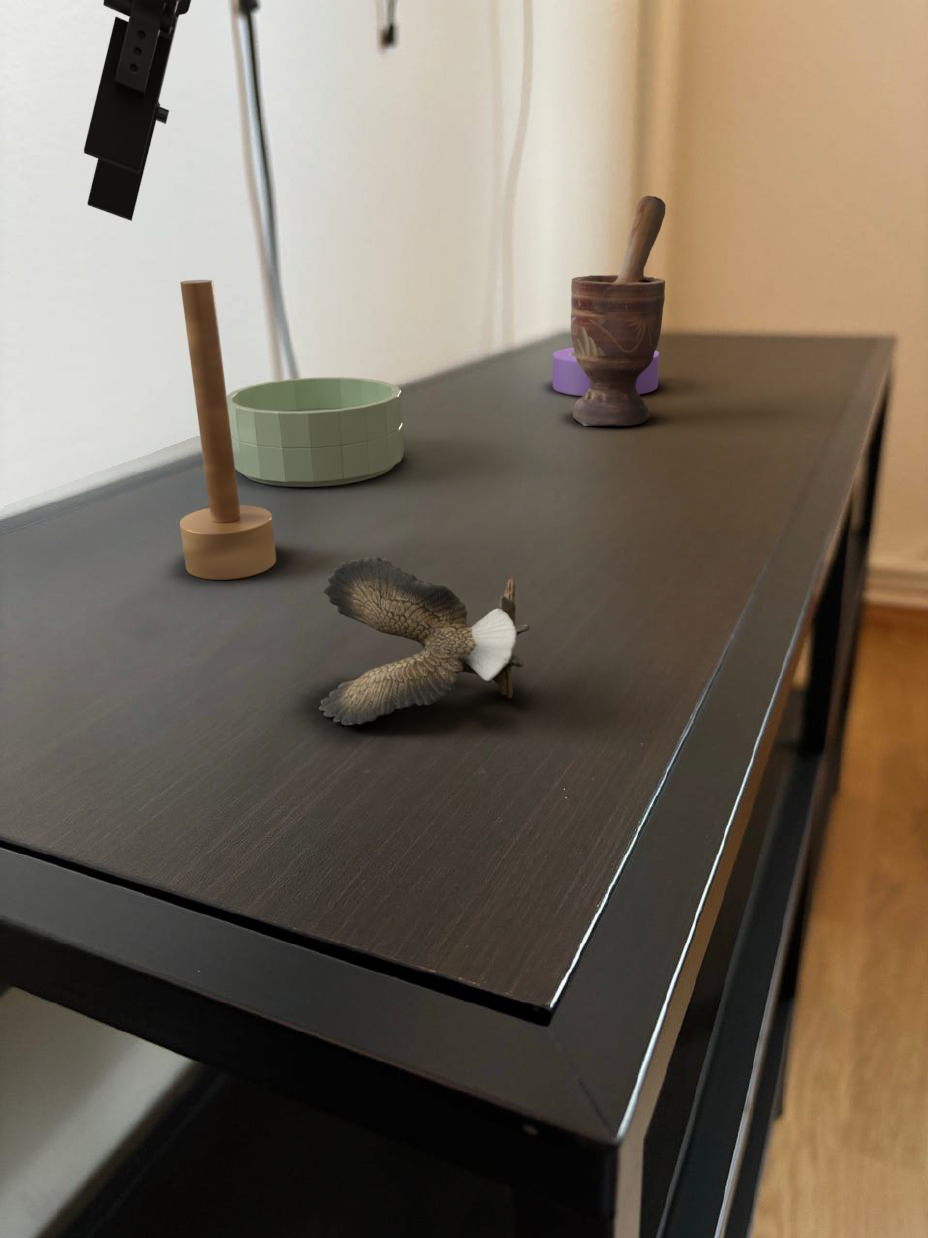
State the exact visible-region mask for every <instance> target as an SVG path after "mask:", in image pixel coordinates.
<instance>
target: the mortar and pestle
mask: <svg viewBox="0 0 928 1238" xmlns="http://www.w3.org/2000/svg"><path fill="white" fill-rule="evenodd" d="M666 207H667V205H666V203H665V202H664V200H663V199H661V198H660V197H658V196H655V195H654V196H653V195H646V196H643V197H641V199H640V200H639V201H638V203H637V205H636V206H635V208H634V212H633V214H632V219H631V224H630V229H629V232H628V233H629V234H628V239H627V247H626V250H625V254H624V258H623V262H622V266H621V269H620V272H619V273H618V274H609V275H607V274H606V275H601V274H600V275H597V274H596V275H592V274H590V275H586V276H576V277H573V278H571V283H570V284H571V285H570V289H571V290H570V292H571V293H570V295H571V298H570V299H571V300H570V307H571V310H570V311H571V312H570V336H571V343H572V346H573V347H572V348H574V351H575V355H576V360H577V362H578V364H579V365H580V367H581V368H582V370H583V371H584V372H585V374H586V375H587V376H588V378H589V384H590V388H589V389H588V391H586V394H585V396H580V398H579V399H577V401H576V402H575V404H574V406H573V411H572V417H573V419H575V420H576V421H577V422H578V423H580V424H581V425H582V426H584V427H588V426H589V427H591V426H592V427H593V426H594V427H595V426H596V427H597V426H598V427H599V426H600V427H624V426H625V427H627V426H635V425H639V424H643V423H645V422H646V421H647V420H648V419H649V418H650V415H651V414H650V412H649V408H648V404H647V403H646V401H645V400H644V399H643V397H641V394H638V392H637V390H636V381H637V378H638V376H639V375H640V374H641V373H642V372H643V371H644V370H645V369H646V368H647V367H648V366H649V365H650V364H651V362H652V360H653V357H654V353H655V350H656V351H657V348H658V345H659V343H660V342H659V341H660V337H661V331H662V325H663V313H664V307H665V306H664V305H665V300H666V280H665V279H662V278H655V277H653V276H650V277H648V276H645V275H644V273H645V271H644V270H645V267H646V265H647V262H648V260H649V257H650V254H651V252H652V249H653V247H654V245H655V244H656V240H657V238H658V237H659V234H660V232H661V228H662V225H663V222H664V219H665V216H666V210H667V209H666Z"/></svg>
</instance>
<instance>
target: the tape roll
mask: <svg viewBox="0 0 928 1238" xmlns="http://www.w3.org/2000/svg"><path fill="white" fill-rule="evenodd" d="M659 369H660V352H659V351H657V349H656V350H655V353H654V357H653V360H652V362H651V364H650V365H649V366H648V367H647V368H646V369H645V370H644V371H643V372H642V373H641V374H640V375H639V376H638V378H637V381H636V390H637V392H638V394H639V395H644V394H648V393H651V392H653V391H655V390H657V389H658V386H659ZM589 388H590V384H589V378H588V376H587V375H586V374H585V372H584V371H583V370H582V368H581V367H580V365H579V364H578V362H577V360H576V355H575V351H574V347H569V348H563V349H559V350H557V351H555V352H554V353H553V354H552V389H554V390H555V391H556V392H558V393H561V394H564V395H569V396H576V397H583V396H585V394H586V391H588V389H589Z"/></svg>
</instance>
